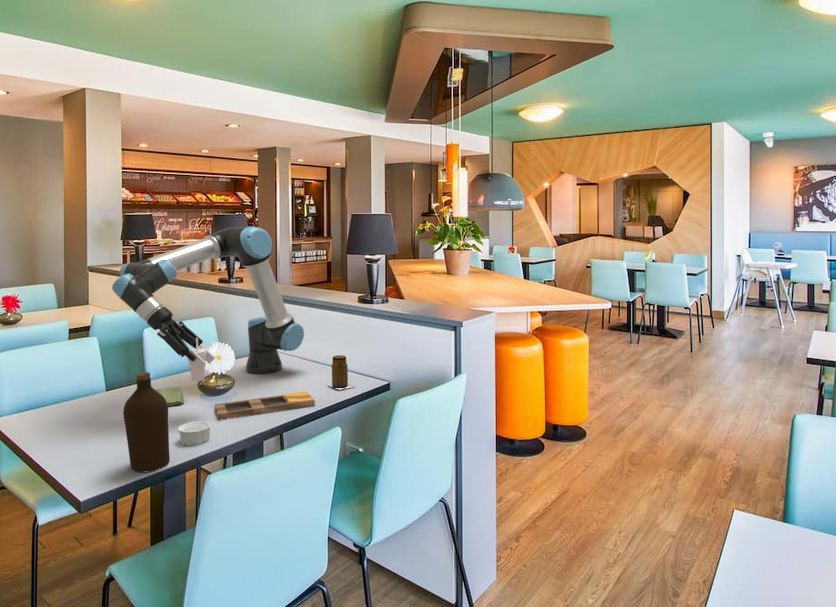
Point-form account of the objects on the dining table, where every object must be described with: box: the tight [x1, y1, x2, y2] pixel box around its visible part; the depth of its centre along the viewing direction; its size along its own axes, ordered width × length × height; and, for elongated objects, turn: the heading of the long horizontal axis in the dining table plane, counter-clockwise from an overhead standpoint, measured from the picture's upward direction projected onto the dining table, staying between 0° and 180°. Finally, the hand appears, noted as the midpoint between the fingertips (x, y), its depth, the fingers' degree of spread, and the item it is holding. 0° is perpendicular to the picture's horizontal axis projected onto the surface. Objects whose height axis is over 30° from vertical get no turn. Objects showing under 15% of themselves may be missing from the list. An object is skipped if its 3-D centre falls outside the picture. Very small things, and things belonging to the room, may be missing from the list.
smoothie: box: [187, 338, 208, 382], centre depth 183 cm, size 6×6×14 cm
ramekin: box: [177, 421, 211, 445], centre depth 167 cm, size 9×9×4 cm
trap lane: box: [214, 391, 316, 421], centre depth 195 cm, size 11×32×2 cm, turn 115°
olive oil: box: [122, 371, 170, 473], centre depth 148 cm, size 11×11×25 cm
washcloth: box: [154, 387, 185, 407], centre depth 203 cm, size 13×18×3 cm
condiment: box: [331, 354, 349, 391], centre depth 218 cm, size 7×8×12 cm
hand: (208, 363), depth 183 cm, fingers closed on smoothie, 6 cm apart
